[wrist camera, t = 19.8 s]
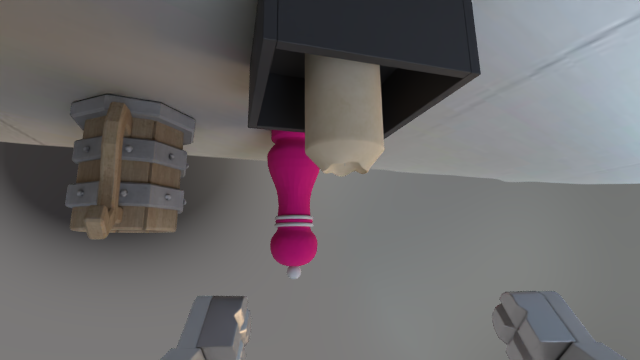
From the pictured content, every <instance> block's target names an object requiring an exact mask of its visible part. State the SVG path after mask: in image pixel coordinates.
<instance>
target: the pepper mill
mask: <svg viewBox="0 0 640 360" xmlns="http://www.w3.org/2000/svg"><path fill="white" fill-rule="evenodd" d="M271 139H272V141H273V142H274V143H275V145H274V146H273V147H272V148H271V150H270V151H269V153H268V156H267V158H268V167H269V171H270V174H271V177H272V179H273V182H274V184H275V187H276V190H277V194H278V203H279V209H278V216H276V217H275V220H276V224H275V227H278V230H277V232H276V233H275V234H274V236H273V237H272V239H271V244H270V245H271V253H272V255H273V257H274V259H275V260H276V261H277V262H279V263H280V264H283V265H286V266H289V268H288V270H287V275H288V276H289V277H290V278H291V279H297V278H298V277H299V276H300V274H301V269H300V267H299V266H301V265H304V264H307V263H309V262H310V261H311V260H312V259H313V258H314V256H315V254H316V251H317V239H316V237H315V235H314V234H313V233H312V231H311V229H310V227H313V224H312V220H313V217H312V216H310V196H311V191H312V188H313V185H314V183H315V180H316V178H317V175H318V173H319V169H320V168H319V167H318V166H317V165H316V164H315V163H314V162H313V161H312V160H311V159H310V158H309V157H308V156H307V155H306V153H305V133H303V132H292V131H280V130H272V137H271Z"/></svg>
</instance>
